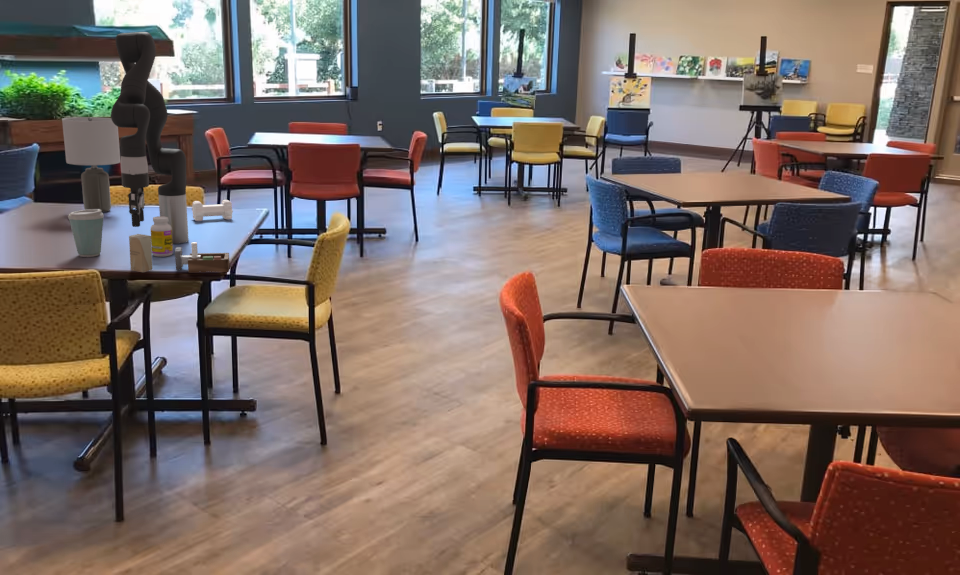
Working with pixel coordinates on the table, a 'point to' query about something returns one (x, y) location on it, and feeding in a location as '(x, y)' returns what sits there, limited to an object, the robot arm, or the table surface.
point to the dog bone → (212, 210)
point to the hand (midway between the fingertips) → (138, 223)
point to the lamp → (92, 156)
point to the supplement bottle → (161, 237)
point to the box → (140, 252)
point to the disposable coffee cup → (87, 231)
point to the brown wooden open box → (209, 263)
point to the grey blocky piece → (185, 256)
